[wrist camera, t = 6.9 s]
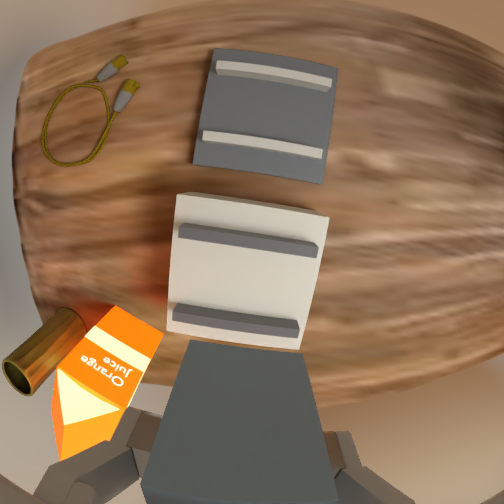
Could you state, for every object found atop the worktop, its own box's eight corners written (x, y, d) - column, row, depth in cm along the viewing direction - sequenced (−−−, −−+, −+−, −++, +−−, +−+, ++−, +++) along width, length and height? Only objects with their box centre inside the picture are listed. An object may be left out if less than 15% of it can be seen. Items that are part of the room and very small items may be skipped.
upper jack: (315, 210, 32) (335, 220, 24) (292, 323, 35) (301, 360, 27) (190, 191, 31) (171, 195, 23) (179, 307, 35) (161, 340, 27)
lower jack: (335, 71, 28) (343, 62, 25) (320, 184, 31) (326, 184, 28) (215, 51, 27) (212, 40, 24) (194, 164, 30) (188, 163, 28)
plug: (302, 353, 10) (338, 499, 4) (280, 425, 11) (291, 546, 5) (190, 339, 10) (140, 484, 4) (187, 414, 11) (158, 534, 5)
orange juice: (165, 333, 36) (106, 451, 16) (144, 375, 37) (93, 482, 18) (114, 304, 35) (25, 398, 15) (98, 349, 36) (28, 441, 17)
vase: (57, 336, 36) (6, 387, 22) (53, 302, 35) (-6, 348, 21) (88, 349, 36) (40, 407, 23) (86, 314, 35) (28, 369, 21)
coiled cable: (152, 138, 30) (146, 135, 28) (52, 180, 31) (43, 181, 29) (137, 53, 27) (131, 47, 25) (42, 102, 28) (34, 99, 26)
